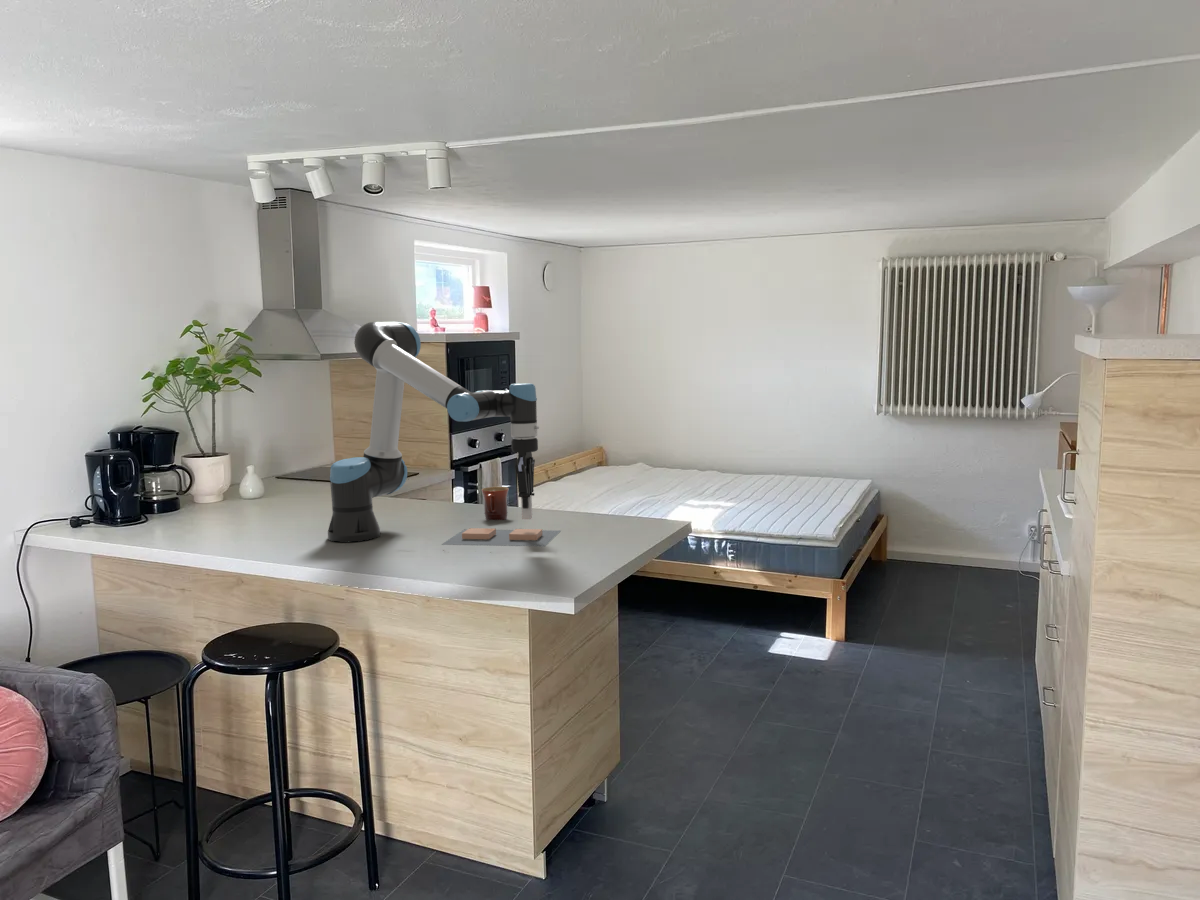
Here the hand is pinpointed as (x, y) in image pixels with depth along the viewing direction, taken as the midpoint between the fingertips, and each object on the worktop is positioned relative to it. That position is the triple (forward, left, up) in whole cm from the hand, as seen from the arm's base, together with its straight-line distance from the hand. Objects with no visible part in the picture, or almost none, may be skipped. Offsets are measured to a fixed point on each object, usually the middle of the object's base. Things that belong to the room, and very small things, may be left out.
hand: (527, 518), depth 252 cm
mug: (-18, +26, -7) cm, 33 cm away
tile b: (0, +2, -4) cm, 5 cm away
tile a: (-14, +2, -4) cm, 15 cm away
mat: (-7, -2, -6) cm, 10 cm away
